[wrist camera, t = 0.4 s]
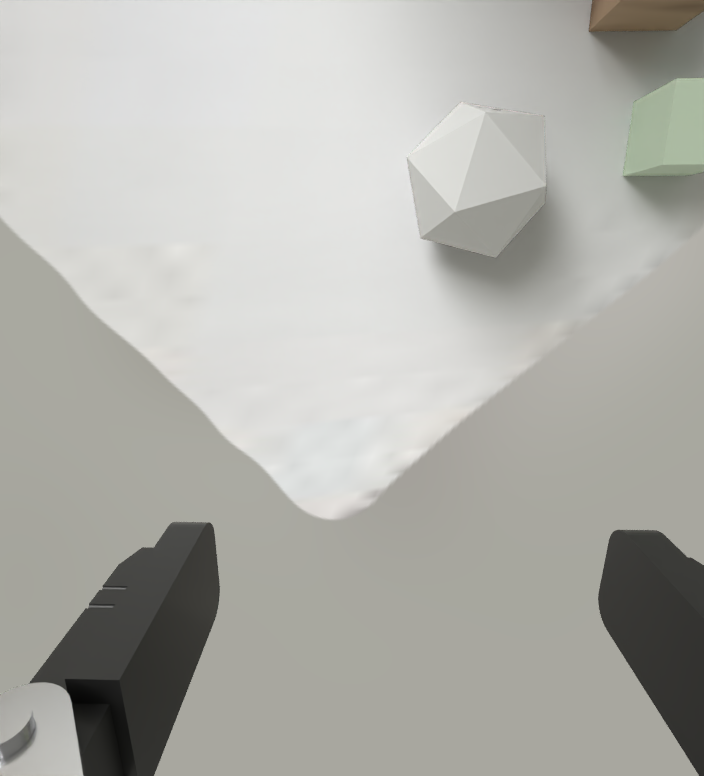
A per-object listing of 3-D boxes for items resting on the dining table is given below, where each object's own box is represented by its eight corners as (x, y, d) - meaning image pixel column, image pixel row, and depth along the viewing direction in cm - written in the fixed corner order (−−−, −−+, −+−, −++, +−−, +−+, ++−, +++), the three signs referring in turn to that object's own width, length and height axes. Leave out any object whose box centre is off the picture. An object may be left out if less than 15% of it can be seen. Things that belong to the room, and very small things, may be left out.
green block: (632, 102, 31) (677, 78, 26) (701, 101, 31) (757, 77, 26) (622, 176, 32) (662, 164, 28) (688, 175, 32) (738, 163, 28)
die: (550, 196, 33) (590, 64, 24) (510, 297, 31) (539, 193, 22) (440, 173, 35) (440, 44, 27) (397, 265, 33) (381, 159, 24)
